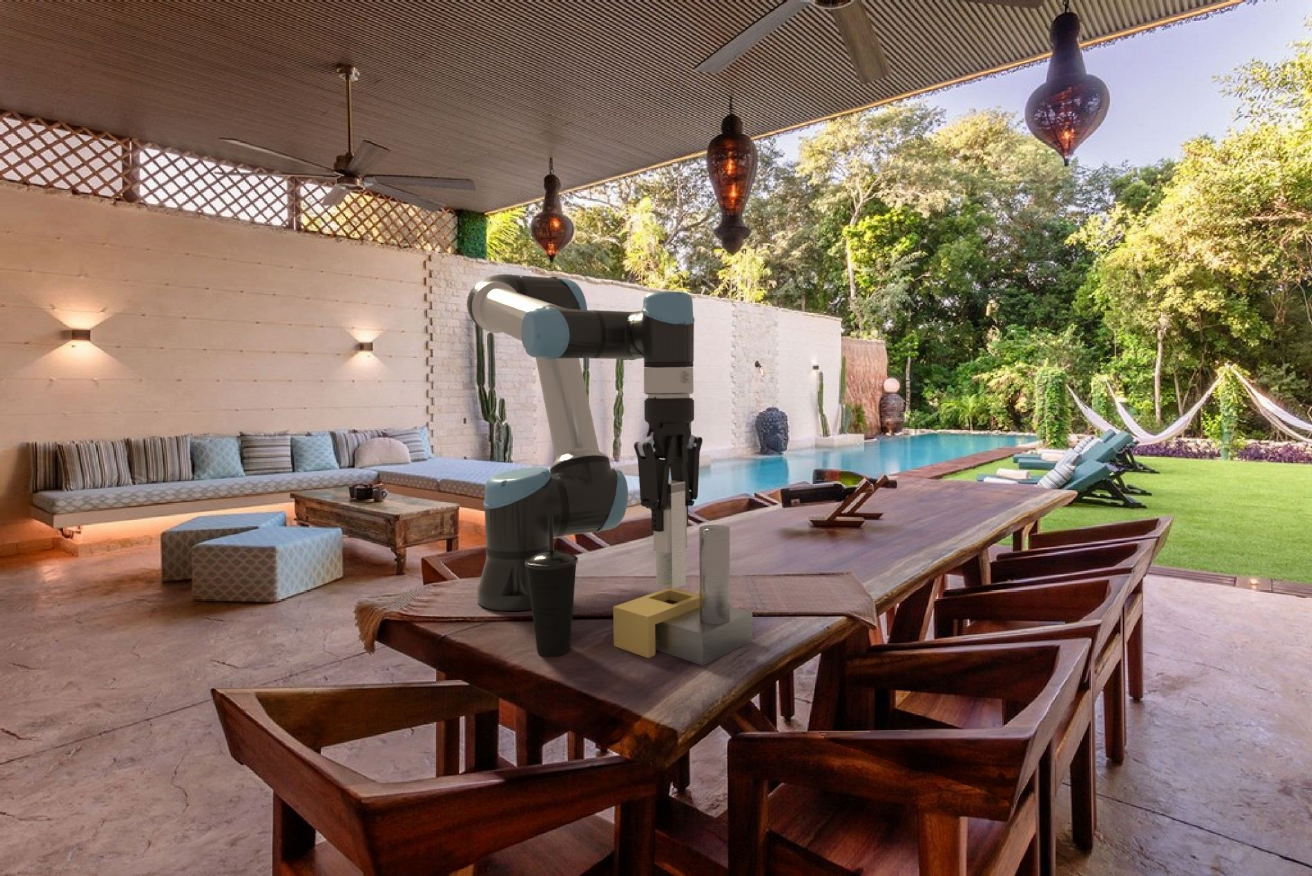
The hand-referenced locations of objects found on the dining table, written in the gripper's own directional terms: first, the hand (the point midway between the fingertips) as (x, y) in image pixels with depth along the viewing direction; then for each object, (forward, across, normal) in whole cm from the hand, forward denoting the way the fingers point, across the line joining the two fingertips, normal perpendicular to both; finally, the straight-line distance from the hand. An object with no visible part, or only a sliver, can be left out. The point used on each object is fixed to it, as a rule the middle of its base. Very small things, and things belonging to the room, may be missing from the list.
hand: (670, 549), depth 108 cm
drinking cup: (+14, -16, +9) cm, 23 cm away
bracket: (+14, -2, 0) cm, 14 cm away
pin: (+6, 0, 0) cm, 6 cm away
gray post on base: (+14, 0, -3) cm, 14 cm away
